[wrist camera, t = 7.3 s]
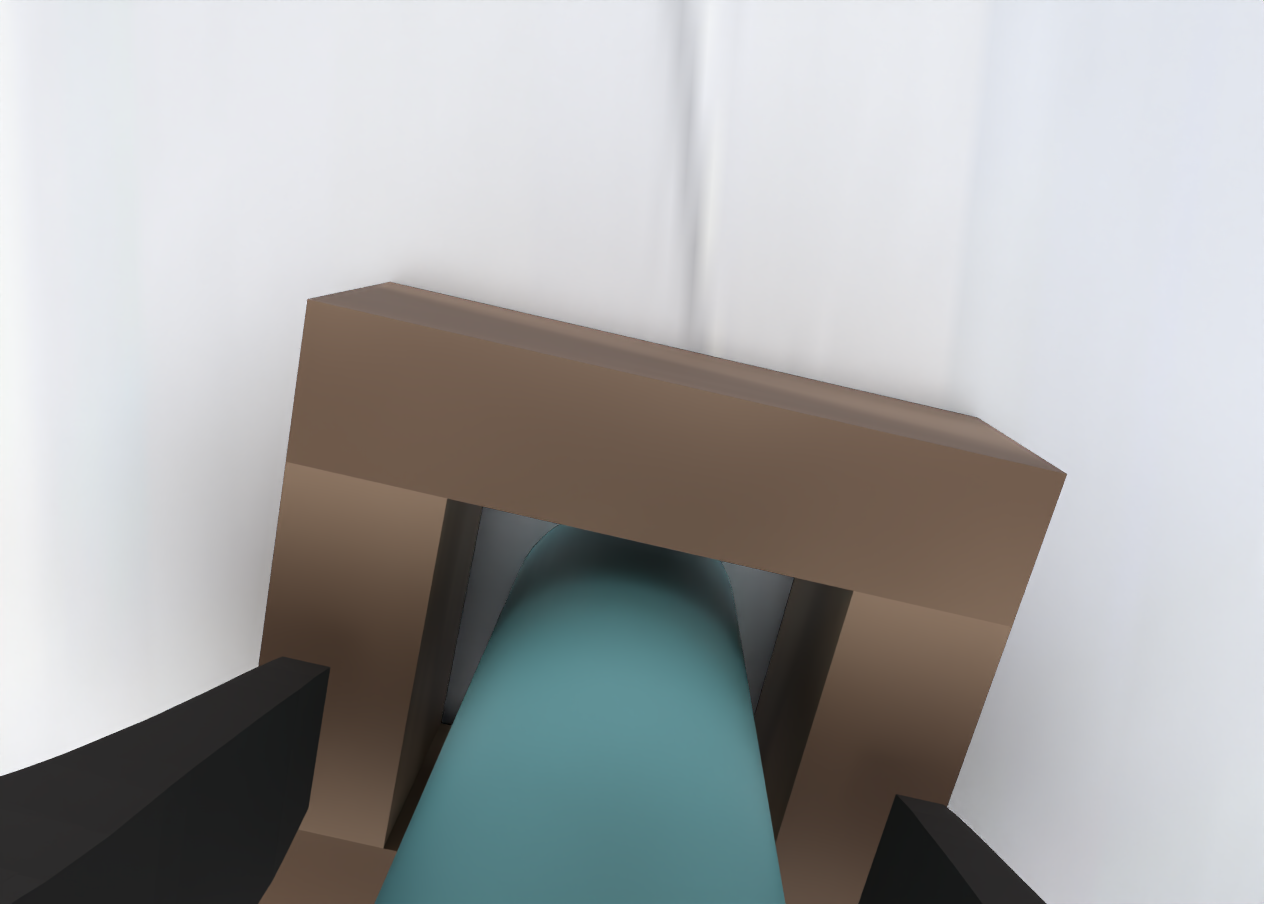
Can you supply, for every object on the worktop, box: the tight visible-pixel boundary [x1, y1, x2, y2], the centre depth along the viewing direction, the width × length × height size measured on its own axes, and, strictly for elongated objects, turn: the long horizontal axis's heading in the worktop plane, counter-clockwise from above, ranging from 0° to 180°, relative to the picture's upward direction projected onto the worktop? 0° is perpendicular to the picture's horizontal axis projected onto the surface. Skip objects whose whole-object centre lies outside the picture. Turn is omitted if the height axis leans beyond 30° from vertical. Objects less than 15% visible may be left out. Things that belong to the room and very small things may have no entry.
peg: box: [374, 524, 785, 904], centre depth 11 cm, size 4×4×10 cm
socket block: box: [258, 282, 1067, 904], centre depth 15 cm, size 10×10×4 cm
